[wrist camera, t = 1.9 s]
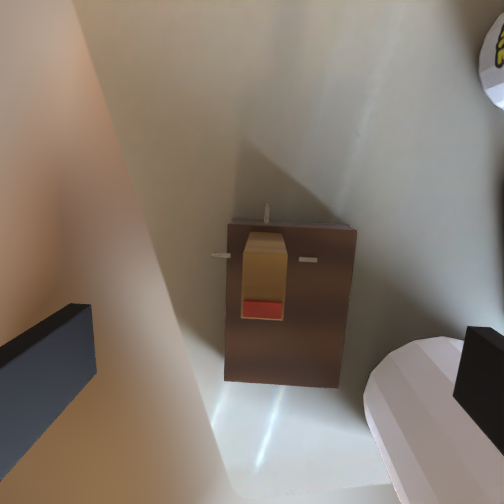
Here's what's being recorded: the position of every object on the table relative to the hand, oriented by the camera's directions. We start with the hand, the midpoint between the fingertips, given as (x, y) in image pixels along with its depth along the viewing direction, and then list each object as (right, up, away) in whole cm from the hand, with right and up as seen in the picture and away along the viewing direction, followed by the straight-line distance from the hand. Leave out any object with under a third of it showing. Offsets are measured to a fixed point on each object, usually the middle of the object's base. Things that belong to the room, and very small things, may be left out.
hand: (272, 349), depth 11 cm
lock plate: (+2, -1, +17) cm, 18 cm away
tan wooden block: (0, +3, +14) cm, 14 cm away
